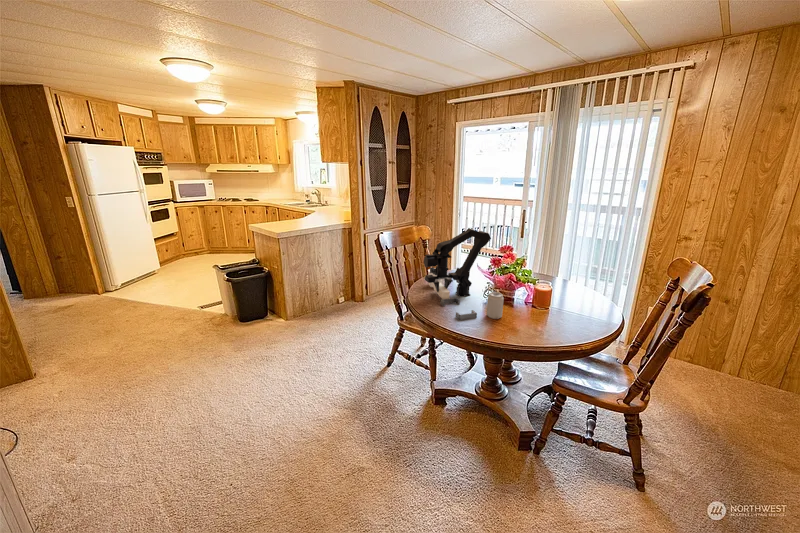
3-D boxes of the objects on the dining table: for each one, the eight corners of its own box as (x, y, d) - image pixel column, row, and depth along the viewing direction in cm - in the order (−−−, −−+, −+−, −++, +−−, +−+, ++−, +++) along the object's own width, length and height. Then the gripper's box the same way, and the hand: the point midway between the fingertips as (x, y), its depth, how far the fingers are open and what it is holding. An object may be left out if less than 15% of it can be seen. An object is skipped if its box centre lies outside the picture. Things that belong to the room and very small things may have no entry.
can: (502, 314, 168) (504, 292, 164) (501, 320, 161) (503, 297, 158) (487, 312, 170) (488, 290, 167) (485, 318, 163) (487, 295, 160)
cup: (425, 283, 213) (426, 268, 210) (440, 282, 215) (441, 268, 212) (430, 288, 204) (430, 273, 201) (445, 287, 205) (446, 272, 203)
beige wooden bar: (440, 288, 198) (440, 282, 197) (449, 298, 183) (449, 291, 182) (433, 289, 197) (433, 282, 196) (442, 299, 182) (442, 292, 181)
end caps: (456, 301, 184) (456, 297, 183) (476, 317, 164) (476, 313, 163) (440, 303, 181) (440, 299, 180) (459, 320, 161) (459, 315, 160)
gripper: (450, 260, 195) (449, 285, 200) (421, 263, 190) (420, 288, 194) (459, 265, 185) (458, 291, 190) (429, 268, 180) (428, 295, 184)
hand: (441, 291), depth 190 cm, fingers closed on beige wooden bar, 4 cm apart
